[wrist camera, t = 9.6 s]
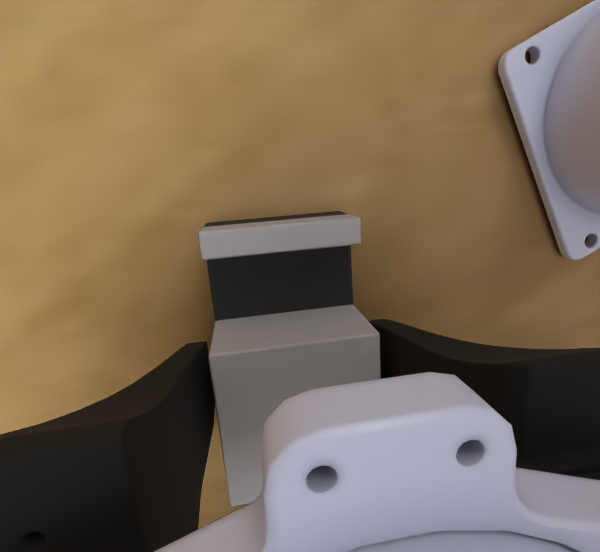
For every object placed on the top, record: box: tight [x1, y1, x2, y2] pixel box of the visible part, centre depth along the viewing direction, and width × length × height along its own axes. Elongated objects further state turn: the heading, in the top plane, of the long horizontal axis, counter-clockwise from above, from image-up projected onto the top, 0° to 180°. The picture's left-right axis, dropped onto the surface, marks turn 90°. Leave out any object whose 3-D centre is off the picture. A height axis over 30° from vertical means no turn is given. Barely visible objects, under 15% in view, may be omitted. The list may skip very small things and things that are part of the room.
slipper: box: [198, 211, 381, 506], centre depth 12 cm, size 8×5×4 cm, turn 4°
